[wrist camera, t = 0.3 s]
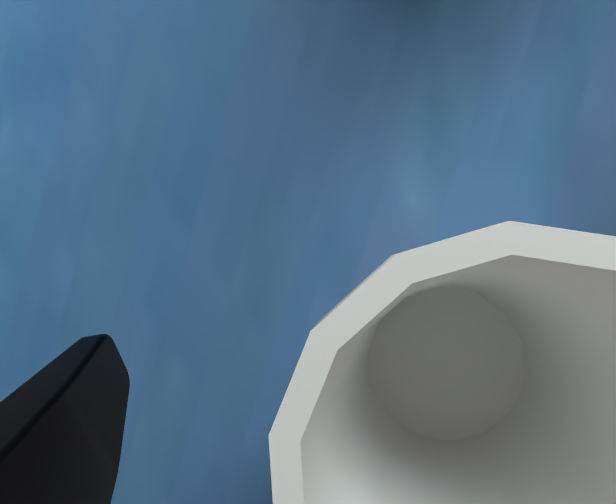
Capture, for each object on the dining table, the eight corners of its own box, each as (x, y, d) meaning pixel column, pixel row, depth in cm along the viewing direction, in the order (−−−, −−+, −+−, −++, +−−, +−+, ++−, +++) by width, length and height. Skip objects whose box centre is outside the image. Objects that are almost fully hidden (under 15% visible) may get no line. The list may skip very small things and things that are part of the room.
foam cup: (612, 412, 23) (927, 616, 10) (400, 521, 24) (431, 839, 11) (487, 198, 23) (627, 125, 10) (284, 312, 24) (181, 374, 11)
